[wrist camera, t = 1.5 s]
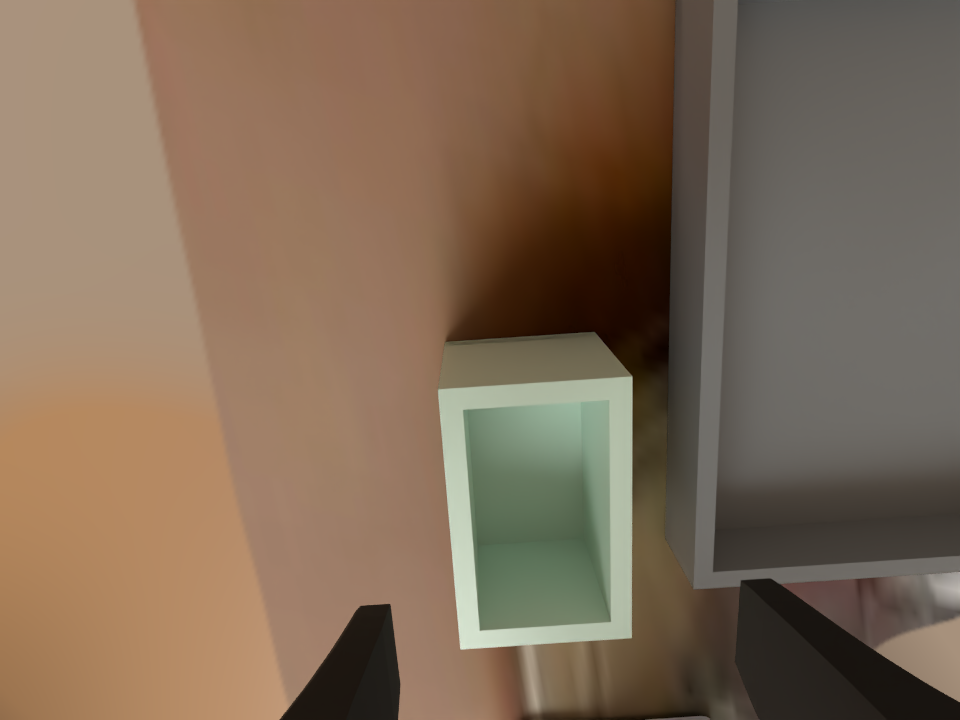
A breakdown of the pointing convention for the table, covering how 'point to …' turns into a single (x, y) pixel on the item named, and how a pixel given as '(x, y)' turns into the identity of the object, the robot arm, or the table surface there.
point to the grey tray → (814, 291)
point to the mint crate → (538, 488)
